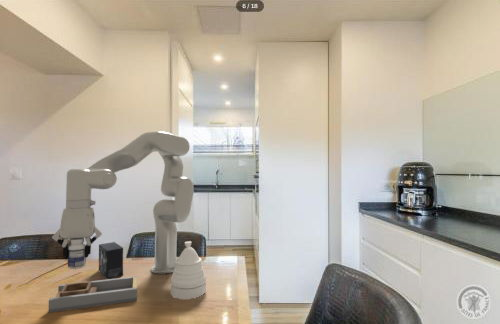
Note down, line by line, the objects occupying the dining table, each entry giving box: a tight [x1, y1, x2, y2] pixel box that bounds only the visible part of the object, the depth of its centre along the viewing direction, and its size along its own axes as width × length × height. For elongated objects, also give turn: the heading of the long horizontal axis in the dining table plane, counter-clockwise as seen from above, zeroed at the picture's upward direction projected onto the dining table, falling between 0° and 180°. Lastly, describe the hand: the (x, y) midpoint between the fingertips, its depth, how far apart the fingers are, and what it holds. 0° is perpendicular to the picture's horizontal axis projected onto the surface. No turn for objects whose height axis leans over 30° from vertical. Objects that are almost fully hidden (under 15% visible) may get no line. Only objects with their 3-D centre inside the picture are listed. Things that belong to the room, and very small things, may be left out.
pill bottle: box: [67, 238, 87, 270], centre depth 102 cm, size 5×5×10 cm
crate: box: [55, 280, 98, 297], centre depth 101 cm, size 12×9×4 cm
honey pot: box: [170, 240, 207, 300], centre depth 110 cm, size 13×13×18 cm
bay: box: [48, 275, 138, 314], centre depth 104 cm, size 26×13×4 cm, turn 111°
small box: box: [98, 241, 124, 280], centre depth 129 cm, size 13×7×12 cm, turn 41°
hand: (77, 256), depth 102 cm, fingers closed on pill bottle, 5 cm apart
